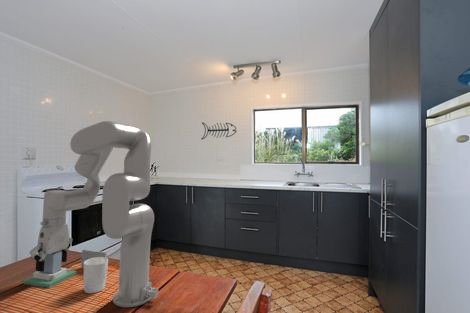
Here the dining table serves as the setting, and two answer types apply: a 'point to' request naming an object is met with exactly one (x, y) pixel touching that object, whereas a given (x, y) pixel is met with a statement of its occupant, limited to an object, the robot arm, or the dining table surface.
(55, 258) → the plug
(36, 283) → the header board
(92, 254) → the cassette
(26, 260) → the dining table surface
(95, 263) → the white cup
